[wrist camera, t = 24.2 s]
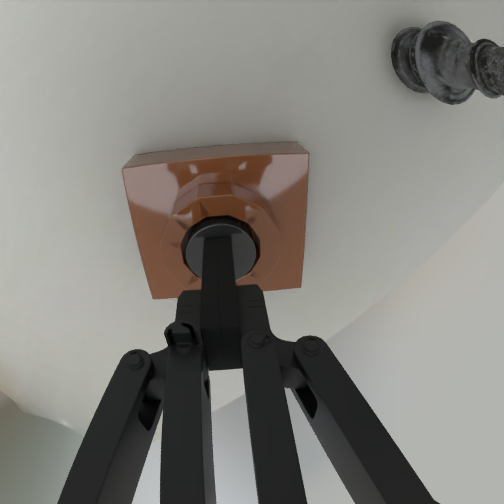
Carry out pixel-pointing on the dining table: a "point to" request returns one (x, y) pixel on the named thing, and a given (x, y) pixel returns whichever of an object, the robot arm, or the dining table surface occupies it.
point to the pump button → (217, 229)
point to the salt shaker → (448, 63)
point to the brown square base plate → (220, 209)
